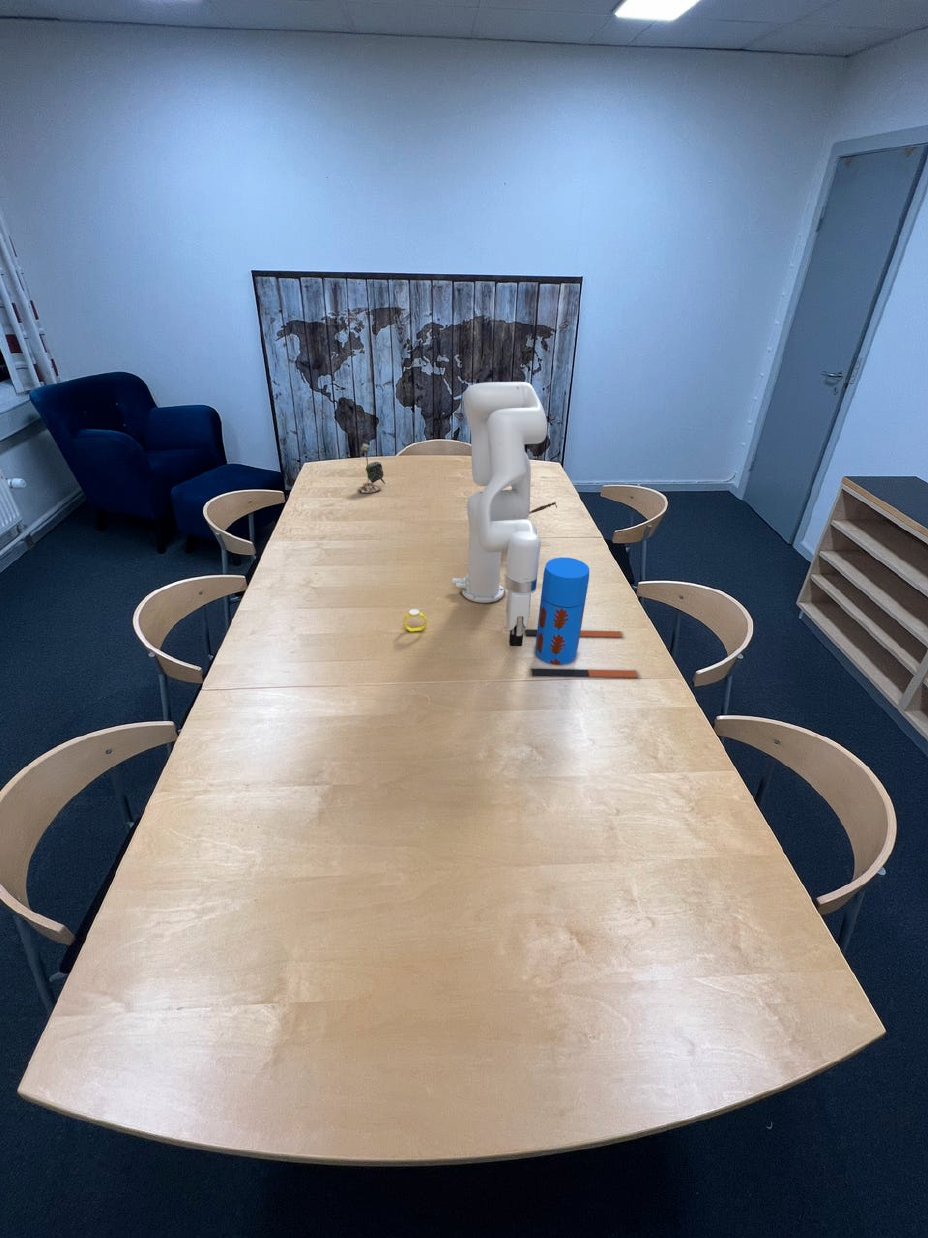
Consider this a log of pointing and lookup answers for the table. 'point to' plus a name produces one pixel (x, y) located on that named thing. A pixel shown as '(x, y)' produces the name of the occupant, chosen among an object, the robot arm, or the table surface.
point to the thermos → (561, 610)
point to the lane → (585, 672)
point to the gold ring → (414, 613)
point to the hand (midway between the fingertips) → (515, 644)
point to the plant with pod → (371, 473)
